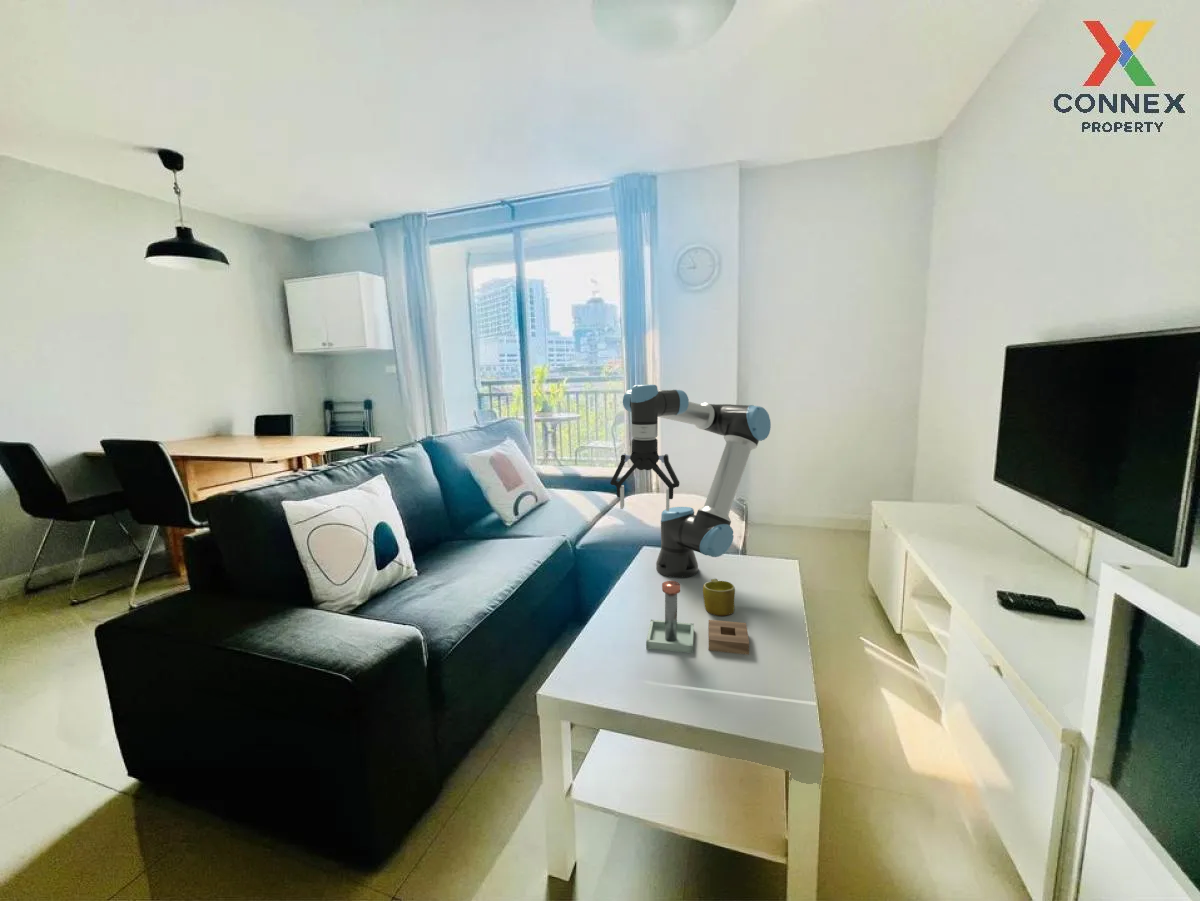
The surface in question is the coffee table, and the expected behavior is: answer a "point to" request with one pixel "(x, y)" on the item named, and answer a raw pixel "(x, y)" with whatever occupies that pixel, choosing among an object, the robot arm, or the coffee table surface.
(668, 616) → the pin
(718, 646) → the socket block
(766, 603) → the coffee table surface
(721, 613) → the mug
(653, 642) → the tray
